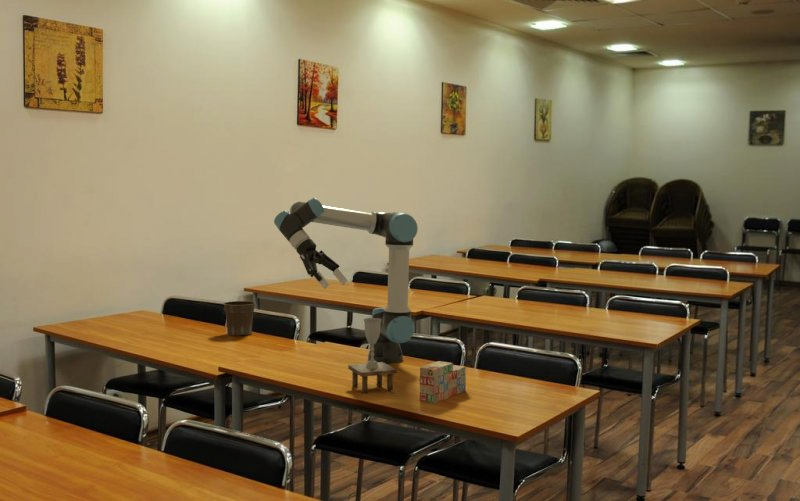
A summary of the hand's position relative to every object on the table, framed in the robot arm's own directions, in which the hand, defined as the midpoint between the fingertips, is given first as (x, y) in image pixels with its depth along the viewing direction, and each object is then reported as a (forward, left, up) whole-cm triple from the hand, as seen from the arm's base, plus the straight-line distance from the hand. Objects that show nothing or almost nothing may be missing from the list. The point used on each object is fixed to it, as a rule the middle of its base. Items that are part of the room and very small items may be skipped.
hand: (336, 284), depth 309 cm
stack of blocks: (-28, +36, -38) cm, 59 cm away
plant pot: (+12, -113, -38) cm, 120 cm away
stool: (-9, +16, -38) cm, 42 cm away
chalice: (-9, +16, -30) cm, 35 cm away
